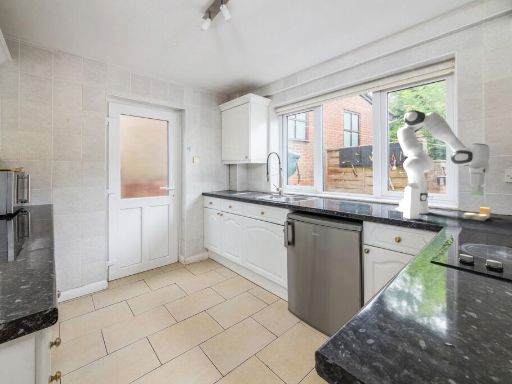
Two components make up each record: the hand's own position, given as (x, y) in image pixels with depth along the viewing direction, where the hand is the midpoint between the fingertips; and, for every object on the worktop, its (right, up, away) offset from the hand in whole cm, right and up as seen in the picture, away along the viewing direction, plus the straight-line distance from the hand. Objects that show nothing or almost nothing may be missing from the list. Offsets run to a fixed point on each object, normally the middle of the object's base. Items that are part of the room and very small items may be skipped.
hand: (476, 192), depth 153 cm
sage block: (0, -2, 0) cm, 2 cm away
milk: (-40, -16, +1) cm, 43 cm away
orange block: (+9, -16, +5) cm, 19 cm away
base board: (-1, -16, 0) cm, 16 cm away
